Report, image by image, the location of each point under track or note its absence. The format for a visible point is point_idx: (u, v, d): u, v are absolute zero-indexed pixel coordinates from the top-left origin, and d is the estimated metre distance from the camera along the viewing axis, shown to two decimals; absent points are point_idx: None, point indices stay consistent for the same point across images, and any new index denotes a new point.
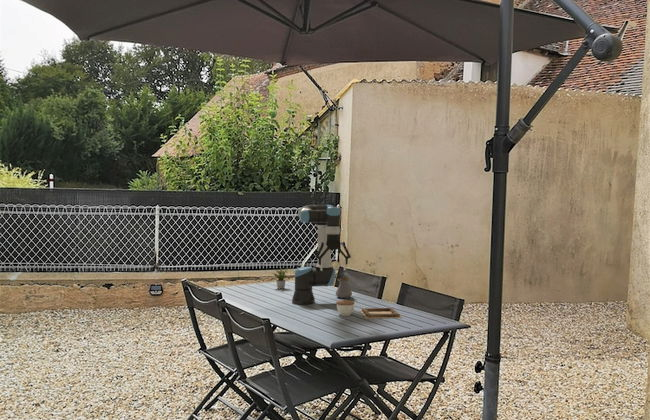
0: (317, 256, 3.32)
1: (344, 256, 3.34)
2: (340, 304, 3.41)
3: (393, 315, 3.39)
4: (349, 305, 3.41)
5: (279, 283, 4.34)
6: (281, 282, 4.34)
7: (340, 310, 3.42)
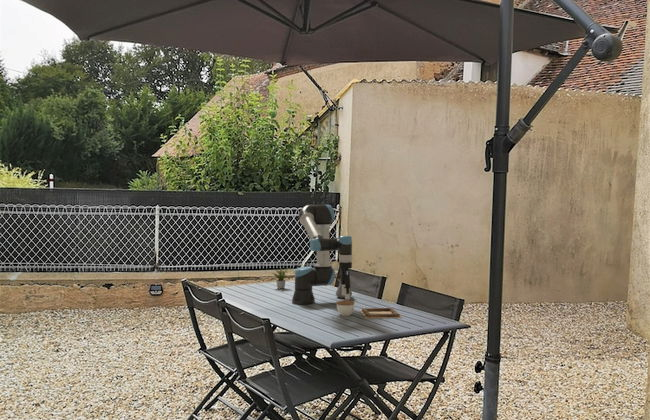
0: (341, 281, 3.54)
1: (345, 285, 3.39)
2: (340, 304, 3.41)
3: (393, 315, 3.39)
4: (349, 305, 3.41)
5: (279, 283, 4.34)
6: (281, 282, 4.34)
7: (340, 310, 3.42)
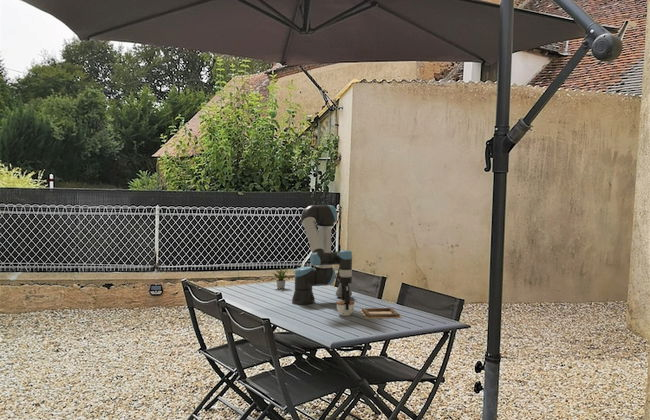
0: (341, 296, 3.54)
1: None
2: (340, 304, 3.41)
3: (393, 315, 3.39)
4: (349, 305, 3.41)
5: (279, 283, 4.34)
6: (281, 282, 4.34)
7: (340, 310, 3.42)
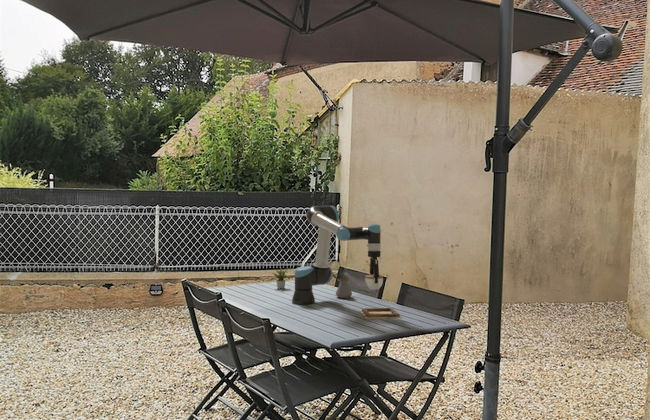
0: None
1: None
2: (369, 278, 3.42)
3: (393, 315, 3.39)
4: (378, 278, 3.41)
5: (279, 283, 4.34)
6: (281, 282, 4.34)
7: (369, 284, 3.42)
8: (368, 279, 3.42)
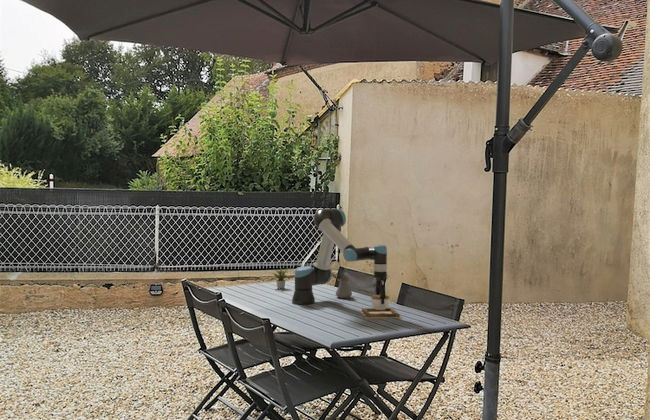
0: (375, 291, 3.55)
1: (380, 295, 3.41)
2: (375, 298, 3.43)
3: (393, 315, 3.39)
4: None
5: (279, 283, 4.34)
6: (281, 282, 4.34)
7: (375, 304, 3.43)
8: (374, 300, 3.43)
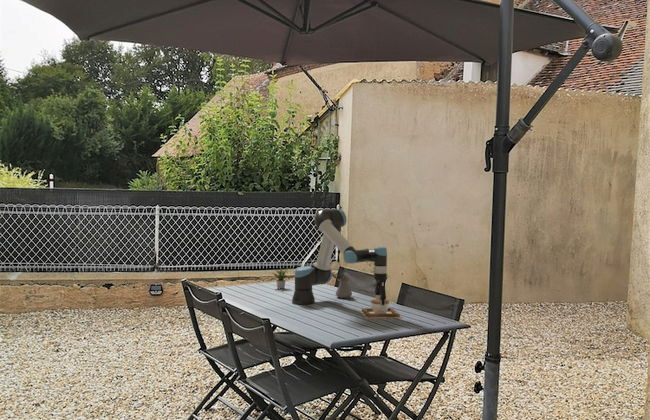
0: (375, 291, 3.56)
1: None
2: (375, 303, 3.43)
3: (393, 315, 3.39)
4: None
5: (279, 283, 4.34)
6: (281, 282, 4.34)
7: (375, 309, 3.44)
8: (374, 304, 3.44)
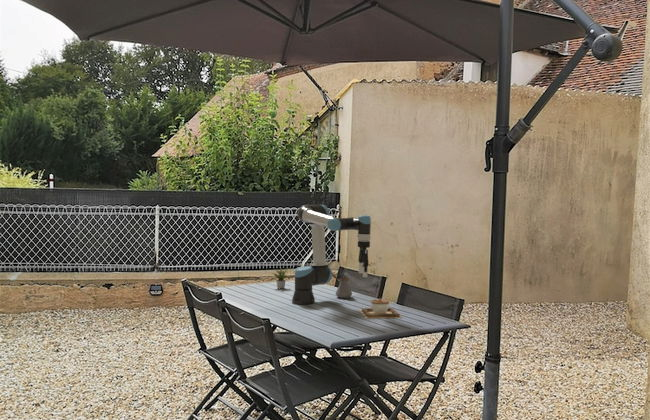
0: (358, 259, 3.64)
1: (363, 263, 3.48)
2: (375, 303, 3.43)
3: (393, 315, 3.39)
4: (384, 304, 3.43)
5: (279, 283, 4.34)
6: (281, 282, 4.34)
7: (375, 309, 3.44)
8: (374, 304, 3.44)
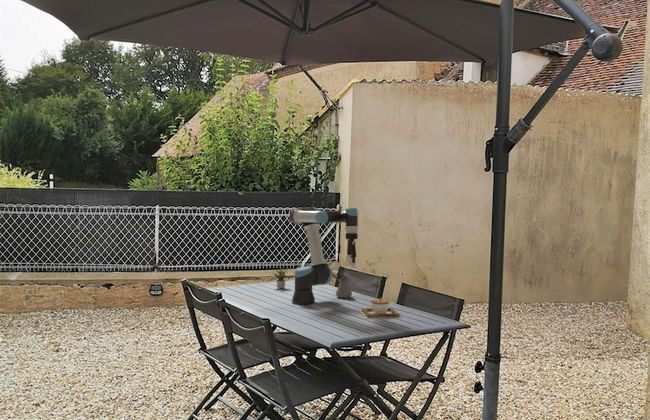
0: (347, 251, 3.69)
1: (351, 254, 3.54)
2: (375, 303, 3.43)
3: (393, 315, 3.39)
4: (384, 304, 3.43)
5: (279, 283, 4.34)
6: (281, 282, 4.34)
7: (375, 309, 3.44)
8: (374, 304, 3.44)
